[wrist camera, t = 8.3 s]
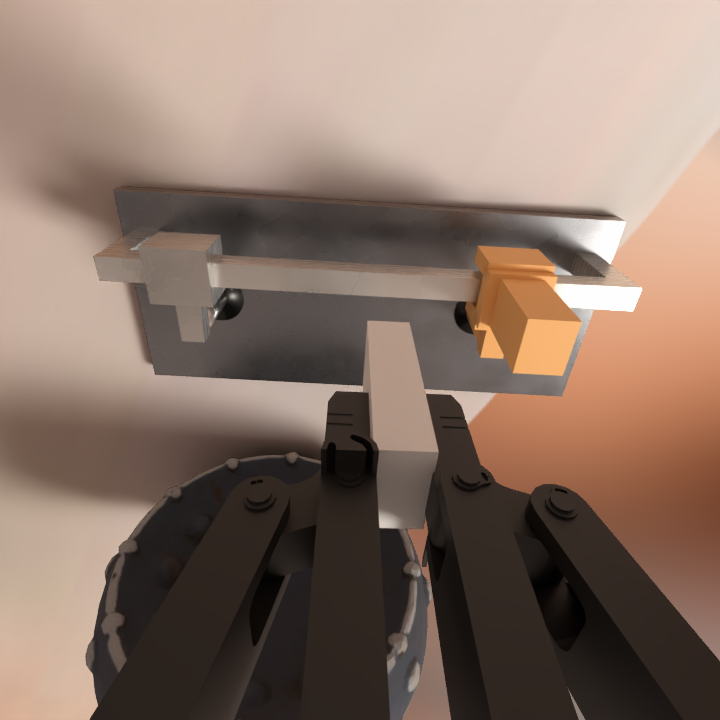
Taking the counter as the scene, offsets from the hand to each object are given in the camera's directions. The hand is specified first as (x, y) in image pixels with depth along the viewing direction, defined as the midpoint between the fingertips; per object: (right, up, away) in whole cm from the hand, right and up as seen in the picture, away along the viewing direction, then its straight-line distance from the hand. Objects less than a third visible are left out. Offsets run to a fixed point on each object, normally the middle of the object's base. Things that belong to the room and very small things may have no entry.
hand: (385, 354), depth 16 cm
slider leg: (+6, +5, +10) cm, 12 cm away
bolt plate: (-1, +4, +12) cm, 13 cm away
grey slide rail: (0, +6, +11) cm, 12 cm away
